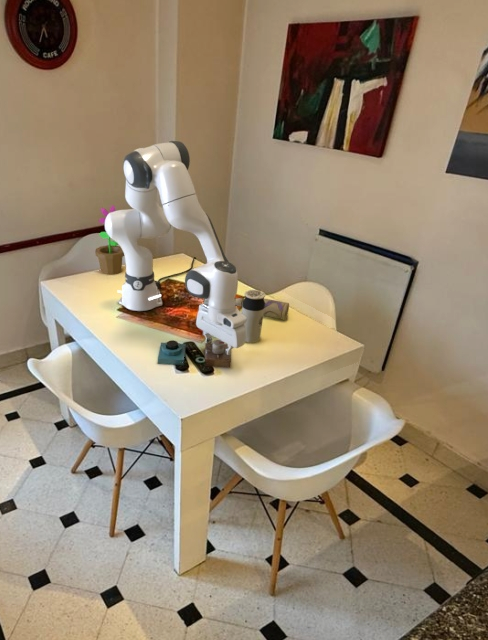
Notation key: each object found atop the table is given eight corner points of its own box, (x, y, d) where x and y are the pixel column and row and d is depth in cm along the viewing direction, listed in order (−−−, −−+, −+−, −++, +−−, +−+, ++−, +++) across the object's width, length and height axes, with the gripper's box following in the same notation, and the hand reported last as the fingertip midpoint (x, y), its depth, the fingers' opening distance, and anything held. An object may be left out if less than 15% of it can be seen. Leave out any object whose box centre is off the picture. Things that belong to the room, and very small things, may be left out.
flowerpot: (129, 266, 232) (126, 204, 214) (120, 277, 221) (117, 212, 203) (102, 264, 235) (97, 202, 217) (92, 274, 223) (86, 210, 206)
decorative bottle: (288, 315, 190) (291, 300, 186) (283, 322, 184) (286, 307, 180) (230, 302, 199) (231, 288, 195) (223, 309, 194) (225, 294, 190)
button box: (161, 347, 168) (161, 338, 165) (185, 349, 167) (186, 339, 165) (157, 363, 159) (157, 353, 156) (183, 365, 158) (184, 355, 156)
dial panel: (204, 350, 167) (205, 342, 165) (229, 351, 166) (230, 343, 164) (204, 366, 158) (204, 358, 156) (230, 367, 157) (231, 360, 155)
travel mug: (234, 338, 174) (239, 293, 163) (246, 331, 178) (252, 287, 168) (251, 345, 169) (258, 300, 159) (263, 338, 174) (270, 293, 164)
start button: (167, 344, 163) (167, 339, 161) (178, 344, 162) (178, 340, 161) (166, 350, 159) (166, 345, 158) (177, 350, 159) (177, 346, 158)
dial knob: (212, 354, 159) (213, 344, 156) (212, 348, 162) (212, 338, 160) (224, 354, 158) (224, 344, 156) (223, 348, 162) (224, 339, 159)
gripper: (192, 303, 156) (191, 339, 164) (237, 326, 144) (232, 363, 152) (206, 298, 159) (204, 333, 168) (250, 320, 147) (245, 357, 155)
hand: (218, 348), depth 160 cm, fingers open, 8 cm apart
